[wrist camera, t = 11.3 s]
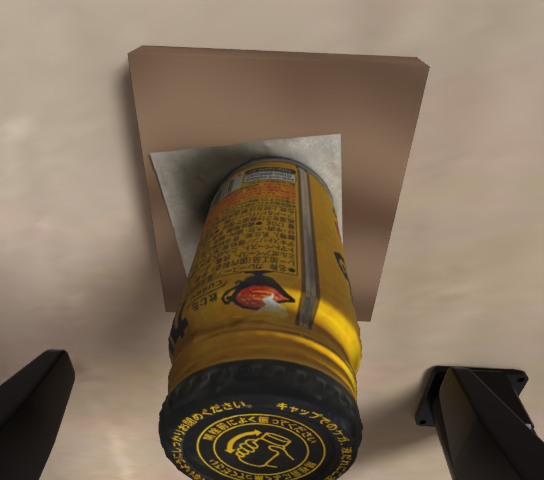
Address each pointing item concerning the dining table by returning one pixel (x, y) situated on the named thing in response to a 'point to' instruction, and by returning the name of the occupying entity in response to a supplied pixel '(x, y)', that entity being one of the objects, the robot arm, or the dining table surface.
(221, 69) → the stand
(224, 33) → the dining table surface
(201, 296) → the condiment
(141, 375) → the dining table surface
